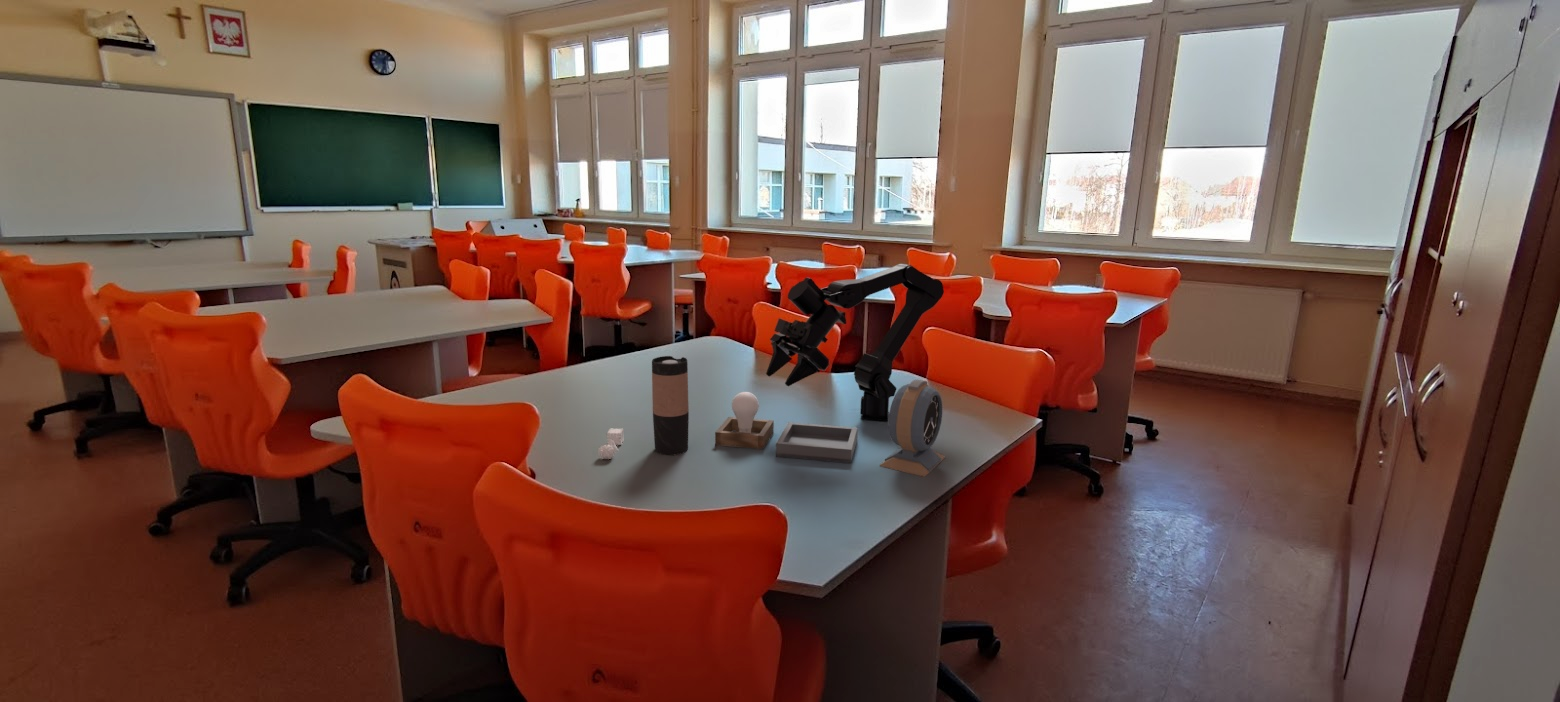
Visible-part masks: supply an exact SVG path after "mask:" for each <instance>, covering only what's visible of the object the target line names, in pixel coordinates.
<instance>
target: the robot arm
mask: <svg viewBox="0 0 1560 702" xmlns="http://www.w3.org/2000/svg"><path fill="white" fill-rule="evenodd" d="M900 284H901V285H902V286H903V287H904V288H906V289H907V290H906V292H905V303H904V306H903V307H902V309H901V311H899V313H898V315H897V316H896V317H895V320H894V322H893V323H892V325H891V326H890V328H889V329H888V331H887V332H886V334H885V336H884V337H883V339H882V340H881V342H880V344H878V346H877V348H876V350H875V351H874V352H872V353H870V354H868V353H866V352H864V353H863V354H862V355H861V357H860V359H859V361H858V363H856V364H855V365H854V367H855V369H854V371H853V372H854V373H853V375H854V380H855V382H856V384H857V386H858V388H859V390H860V391H862V392H863V396H861V398H860V415H861V419H862V420H870V421H871V420H872V421H881V422H882V421H883V422H889V413H890V408H889V407H890V405H889V404H890V398H892V397H895V395H896V393H897V387H896V386H895V385H894V383H893V382H891V380H890V379H891V376H892V372H893V371H892V370H893V362H894V360H895V358H896V357H897V355H898V354H899V352H900V351H901V349H902V347H903V346H904V344H905V343H906V341H907V339H908V338H909V336H910V335H911V333H912V331H913V330H914V328H915V327H916V325H917V324H918V322H919V320H920V319H921V317H922V316H923V315H924V313H926V312H928V311H929V310H931V309H932V308H934V307H935V306H936V305H937V303H939V301H940V300H941V299H942V298H943V296H944V294H945V293H944V292H945V290H944V284H943V283H942V281H941V280H940V279H939V278H932V277H931V276H929V275H928V274H925V273H923V272H921V271H920V270H918V269H917V268H915V267H914V265H912V264H906V263H898V264H896V265H894V266H892V267H889V268H886V269H883V270H881V271H877V272H875V273H872V274H870V275H867V276H863V277H860V278H856V279H854V278H853V279H841V280H834V281H832V282H830V283H829V284H828V286H826V287H823V288H820V287H819V286H818V285H817V284H816V282H815V281H814V280H813V278H811V277H807V276H806V277H804V279H803V280H801V281H799V282H797V283H796V284H795V285H792V287H790V289H789V291H788V294H787V299H788V300H789V301H790V302H791V303H792V304H793V305H795V307H796V308H797V309H799V311H800V312H801V313H802V314H804V315H805V316H806V315H807V316H808V315H810V316H809V317H808V318H807V320H806V321H803V320H802V321H801V320H797V319H795V320H794V321H792V322H791V321H788V320H785V319H783V318H780V317H779V318H778V320H777V323H776V325H775V327H774V330H773V331H774V332H775V333H774V334H773V335H772V336H771V338H769V340H770V346H772V356H771V358H770V361H769V364H768V367H767V370H766V373H765V374H766V376H768V377H771V376H773V375H774V374H775V373H776V372H778V371H779V370H781V369H782V368H783V367H784V366H786V365H787V364H788V363H789V362H791V361H792V359H793V358H792V357H794V356H796V355H797V356H796V357H797V359H796V360H797V362H796V364H795V366H794V367H793V369H792V371H791V372H790V373H789V375H788V376H787V379H786V380H785V382H784V384H785V386H787V387H791V386H792V385H794V384H796V383H798V382H800V381H803V379H806V378H808V377H810V376H812V375H814V374H816V373H818V374H819V373H820V372H821V371H823V372H825V371H826V370H827V369H828V367H829V366H830V359H829V357H827V355H825V353H824V352H822V351H821V350H820V349H819V346H820V345H821V343H825V344H826V343H827V341H828V338H827V337H826V336H827V335H828V334H829V333H830V332H831V330H832V329H833V328H834V327H835V325H837V323H840V324H843V325H845V324H847V317H846V312H845V311H841V310H838V309H837V307H839V308H843V309H845V310H847V309H849V310H850V309H853V308H854V307H855V306H857V305H859V304H861V303H862V302H864V300H865V299H866V298H867V297H868V296H871V295H873V294H876V293H879V292H882V291H884V290H888V289H890V288H893V287H895V286H898V285H900ZM826 301H827V302H828V303H829V304H828V303H827V302H826ZM835 306H836V307H835Z"/></svg>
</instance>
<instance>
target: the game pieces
mask: <svg viewBox="0 0 1560 702" xmlns="http://www.w3.org/2000/svg"><path fill="white" fill-rule="evenodd" d="M624 432H625V431H624V428H622V427H621V428H613V427H611V428H609V429H608V431H607V432H606V436H607V437H606V438H607V441H606V442H607V443H606V444H604V445H600V446H599V448H598V449H597V451H598V452H597V453H598V456H599V458H601V460H602V459H604V460H609V459H611V460H612V458H613V457H614V455H615V454H616V452H615V451H616V450H618V451H619V448H618V445H621V444H622V445H623V443H624V442H623V441H625V437H624ZM622 442H623V443H622ZM617 444H618V445H617ZM616 445H617V446H616ZM622 445H621V446H622Z"/></svg>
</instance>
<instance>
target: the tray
mask: <svg viewBox="0 0 1560 702" xmlns="http://www.w3.org/2000/svg"><path fill="white" fill-rule="evenodd" d="M858 429H859V428H858V427H853V426H851V427H850V426H841V425H830V424H829V425H827V424H826V425H825V424H817V423H815V424H814V423H801V422H791V421H790V422H787V424H786V426H785V427H784V429H783V430H782V432H781V434H780V435H779V437H778V440H777V441H776V442H775V443H776V444H775V457H777V458H778V457H779V458H786V459H787V458H788V459H789V458H790V459H800V460H810V461H823V462H824V461H825V462H834V463H844V464H845V463H846V464H852V461H853V457H854V454H855V449H856V446H857V442H858Z"/></svg>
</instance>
